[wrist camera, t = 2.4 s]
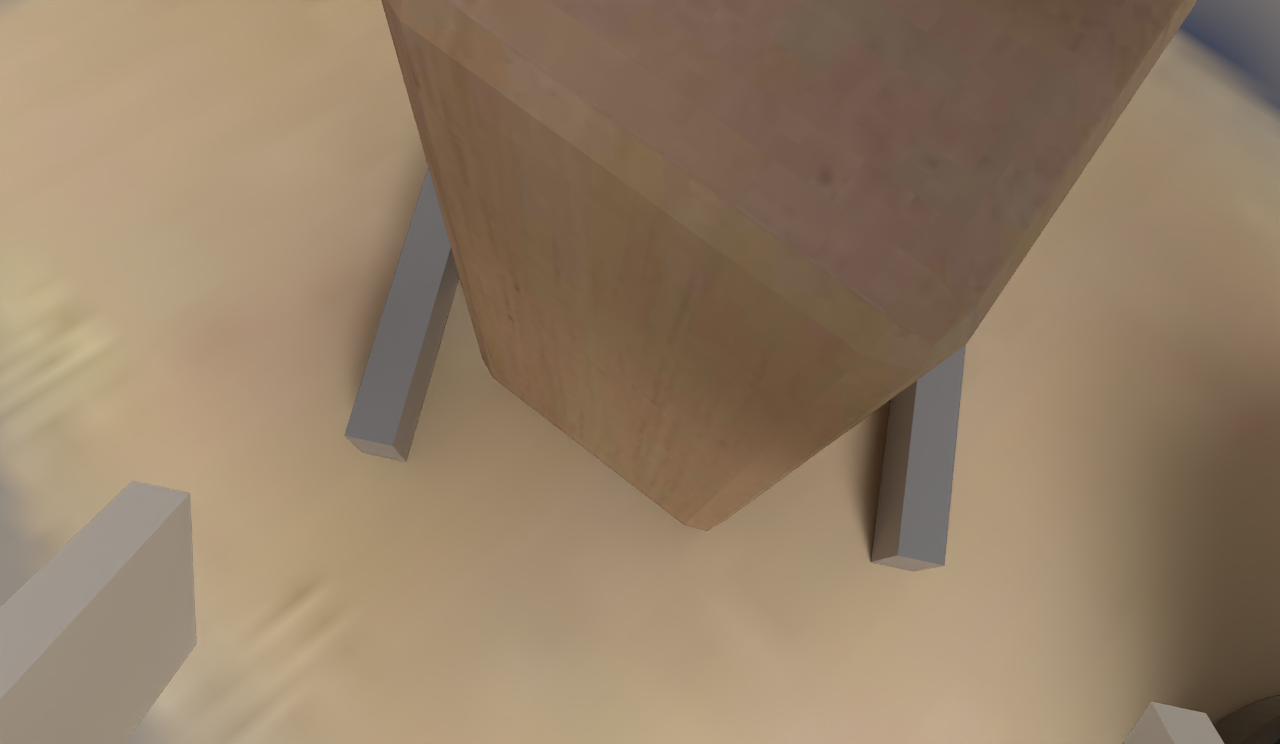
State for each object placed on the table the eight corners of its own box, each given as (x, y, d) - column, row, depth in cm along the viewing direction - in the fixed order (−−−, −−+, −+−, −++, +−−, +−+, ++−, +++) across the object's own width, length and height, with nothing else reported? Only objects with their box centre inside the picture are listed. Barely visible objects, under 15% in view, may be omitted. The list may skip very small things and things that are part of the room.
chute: (913, 571, 30) (944, 565, 28) (361, 452, 30) (344, 435, 27) (947, 254, 34) (976, 225, 31) (455, 144, 33) (447, 106, 31)
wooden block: (645, 170, 34) (755, -445, 15) (862, 327, 32) (1291, -118, 13) (472, 368, 31) (328, -73, 12) (704, 546, 30) (959, 380, 11)
